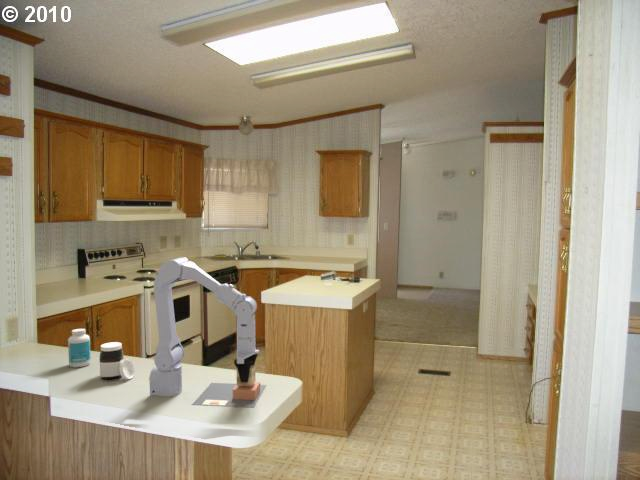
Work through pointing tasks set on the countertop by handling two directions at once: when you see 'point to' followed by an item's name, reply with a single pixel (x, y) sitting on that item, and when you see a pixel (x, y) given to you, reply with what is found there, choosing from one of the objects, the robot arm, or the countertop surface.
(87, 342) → the pill bottle
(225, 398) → the grey square mat
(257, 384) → the terracotta slab
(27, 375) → the countertop surface
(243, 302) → the robot arm
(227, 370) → the countertop surface
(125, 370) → the spread jar
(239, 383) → the oak cube
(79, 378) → the countertop surface
